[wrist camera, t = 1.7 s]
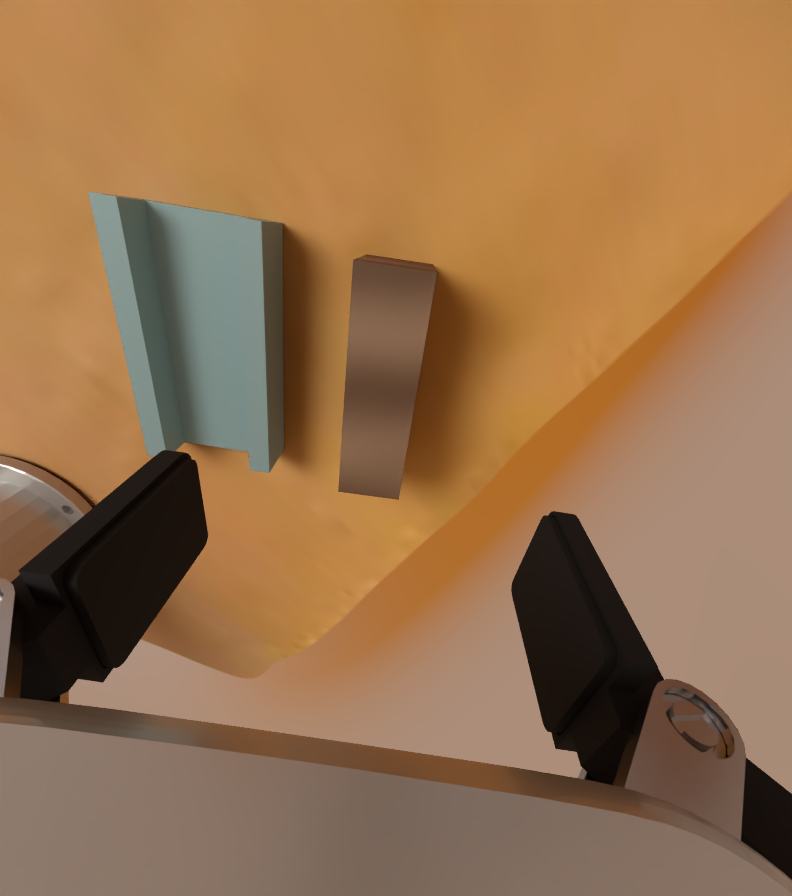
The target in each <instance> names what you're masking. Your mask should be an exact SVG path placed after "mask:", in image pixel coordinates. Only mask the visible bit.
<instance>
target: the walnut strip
mask: <svg viewBox="0 0 792 896" xmlns="http://www.w3.org/2000/svg"><path fill="white" fill-rule="evenodd" d="M436 276H437V271H436V270H435V268H434V266H433V264H427V263H420V262H413V261H407V260H400V259H393V258H387V257H380V256H373V255H364V256H362V257H359V258H357V259H354V260H353V273H352V288H351V304H350V319H349V335H348V350H347V366H346V381H345V396H344V412H343V427H342V443H341V458H340V474H339V489H338V492H345V493H353V494H360V495H368V496H375V497H383V498H390V499H398V500H399V494H400V488H401V482H402V476H403V471H404V465H405V459H406V453H407V447H408V441H409V435H410V429H411V423H412V418H413V412H414V406H415V400H416V394H417V388H418V382H419V376H420V370H421V365H422V359H423V353H424V347H425V341H426V335H427V329H428V323H429V317H430V312H431V306H432V300H433V294H434V288H435V282H436Z"/></svg>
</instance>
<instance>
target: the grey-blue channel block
mask: <svg viewBox="0 0 792 896" xmlns="http://www.w3.org/2000/svg"><path fill="white" fill-rule="evenodd" d="M88 194H89V198H90V203H91V207H92V212H93V216H94V220H95V225H96V229H97V234H98V238H99V243H100V247H101V251H102V256H103V260H104V265H105V269H106V274H107V278H108V282H109V287H110V291H111V296H112V300H113V304H114V309H115V313H116V318H117V322H118V327H119V331H120V335H121V340H122V344H123V349H124V353H125V358H126V362H127V366H128V371H129V375H130V380H131V384H132V388H133V393H134V397H135V402H136V406H137V411H138V415H139V419H140V424H141V428H142V433H143V437H144V442H145V446H146V450H147V455H151V456H156V455H157V454H158V453H159V452H161V451H163V450H170V451H175V450H177V449H178V448H179V447H180V446H181V445H182V444H183V443H184V442H187V443H194V444H200V445H207V446H214V447H220V448H227V449H234V450H241V451H247V452H249V463H250V470H253V471H259V472H266V473H270V471H271V469H272V468H273V466H274V464H275V463H276V461H277V460H278V458H279V456H280V455H281V453H282V452H283V450H284V351H283V223H279V222H273V221H267V220H261V219H255V218H249V217H244V216H238V215H232V214H226V213H220V212H214V211H208V210H202V209H197V208H191V207H185V206H179V205H173V204H167V203H161V202H155V201H150V200H144V199H138V198H131V197H124V196H116V195H109V194H101V193H94V192H88Z"/></svg>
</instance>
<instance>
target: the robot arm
mask: <svg viewBox="0 0 792 896" xmlns="http://www.w3.org/2000/svg"><path fill="white" fill-rule="evenodd" d="M207 538H208V531H207V525H206V519H205V512H204V506H203V499H202V493H201V487H200V480H199V474H198V468H197V463H196V461H195V460H192V459H191V456H190V455H189V454H187V453H183V452H176V451H170V450H163V451H161V452H159V453H158V454H157V455H156V456H155V457H153V458H152V459H151V460H150V461H149V462H147V463H146V464H145V465H144V466H143V467H141V468H140V469H139V470H138V471H137V472H135V473H134V474H133V475H132V476H131V477H129V478H128V479H127V480H126V481H125V482H123V483H122V484H121V485H120V486H119V487H118V488H116V489H115V490H114V491H113V492H112V493H110V494H109V495H108V496H107V497H106V498H104V499H103V500H102V501H101V502H100V503H98V504H97V505H96V506H95V507H94V508H92V507H91V506H90V504H89V503H88V502H87V501H86V500H85V499H84V498H83V497H82V496H81V495H80V494H79V493H77V492H76V491H75V490H74V489H73V488H71V487H70V486H69V485H67V484H66V483H64V482H63V481H62V480H60V479H58V478H57V477H55V476H53V475H52V474H50V473H48V472H47V471H45V470H42V469H40V468H38V467H36V466H34V465H31V464H29V463H26V462H23V461H20V460H17V459H14V458H10V457H5V456H0V896H792V794H791V793H790V792H788V791H787V790H786V789H785V788H783V787H782V786H781V785H779V784H778V783H777V782H776V781H775V780H773V779H772V778H771V777H770V776H768V775H767V774H766V773H765V772H763V771H762V770H761V769H760V768H758V767H757V766H756V765H755V764H753V763H752V762H751V761H750V760H748V759H747V758H746V754H745V747H744V743H743V740H742V738H741V736H740V734H739V731H738V729H737V728H736V727H735V725H734V724H733V722H732V721H731V719H730V718H729V716H728V715H727V714H726V713H725V712H724V711H723V710H722V709H721V708H720V707H719V705H718V704H717V703H716V702H714V701H713V700H712V699H710V698H709V697H708V696H707V695H706V694H704V693H703V692H702V691H700V690H698V689H697V688H695V687H693V686H692V685H689V684H687V683H684V682H682V681H679V680H673V679H665V680H664V679H663V677H662V675H661V673H660V671H659V669H658V666H657V664H656V663H655V661H654V659H653V657H652V655H651V653H650V651H649V650H648V647H647V646H646V644H645V642H644V641H643V638H642V637H641V634H640V633H639V631H638V629H637V627H636V625H635V623H634V621H633V620H632V618H631V616H630V614H629V612H628V610H627V608H626V607H625V605H624V603H623V601H622V599H621V597H620V595H619V594H618V592H617V590H616V588H615V586H614V584H613V582H612V580H611V579H610V577H609V575H608V573H607V571H606V569H605V567H604V566H603V564H602V562H601V560H600V558H599V556H598V555H597V553H596V551H595V549H594V547H593V545H592V543H591V541H590V540H589V538H588V536H587V534H586V532H585V530H584V528H583V527H582V525H581V523H580V521H579V519H578V518H577V516H576V515H574V514H568V513H562V512H555V511H553V512H551V513H550V514H549V515H548V516H543V517H542V519H541V521H540V523H539V525H538V527H537V530H536V532H535V534H534V536H533V538H532V540H531V543H530V545H529V547H528V549H527V551H526V553H525V556H524V558H523V560H522V562H521V564H520V566H519V569H518V571H517V573H516V575H515V577H514V580H513V582H512V589H511V590H512V597H513V601H514V605H515V609H516V613H517V617H518V622H519V626H520V630H521V634H522V638H523V642H524V647H525V651H526V655H527V658H528V663H529V667H530V671H531V676H532V680H533V684H534V688H535V692H536V696H537V700H538V704H539V709H540V712H541V717H542V721H543V724H544V727H545V729H546V730H547V731H548V732H551V733H552V737H553V740H554V744H555V748H556V749H561V750H568V751H575V752H577V754H578V758H579V761H580V764H581V766H582V769H581V772H580V774H579V777H578V778H572V777H566V776H560V775H555V774H549V773H543V772H537V771H532V770H525V769H520V768H514V767H507V766H501V765H494V764H488V763H481V762H474V761H468V760H460V759H454V758H447V757H441V756H434V755H428V754H421V753H414V752H408V751H401V750H394V749H387V748H380V747H374V746H367V745H361V744H353V743H347V742H340V741H333V740H326V739H319V738H313V737H306V736H298V735H291V734H285V733H278V732H271V731H264V730H257V729H250V728H243V727H236V726H229V725H222V724H215V723H208V722H201V721H193V720H186V719H179V718H172V717H165V716H157V715H151V714H143V713H136V712H129V711H122V710H115V709H107V708H99V707H90V706H82V705H74V704H69V695H68V693H69V692H68V691H69V689H70V688H71V687H72V686H73V684H74V683H75V682H76V680H77V679H83V680H91V681H97V682H104V680H105V679H106V678H107V676H108V675H109V673H110V672H111V670H112V669H113V668H117V667H119V666H121V665H122V664H123V663H124V661H125V660H126V659H127V658H128V656H129V654H130V653H131V652H132V650H133V649H134V647H135V646H136V645H137V643H138V642H139V640H140V639H141V637H142V636H143V635H144V633H145V632H146V630H147V629H148V627H149V626H150V624H151V623H152V622H153V620H154V619H155V617H156V616H157V614H158V613H159V612H160V610H161V609H162V607H163V606H164V604H165V603H166V601H167V600H168V599H169V597H170V596H171V594H172V593H173V591H174V590H175V589H176V587H177V586H178V584H179V583H180V581H181V580H182V578H183V577H184V576H185V574H186V573H187V571H188V570H189V568H190V567H191V566H192V564H193V563H194V561H195V560H196V558H197V557H198V555H199V554H200V553H201V551H202V550H203V548H204V547H205V545H206V542H207Z"/></svg>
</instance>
